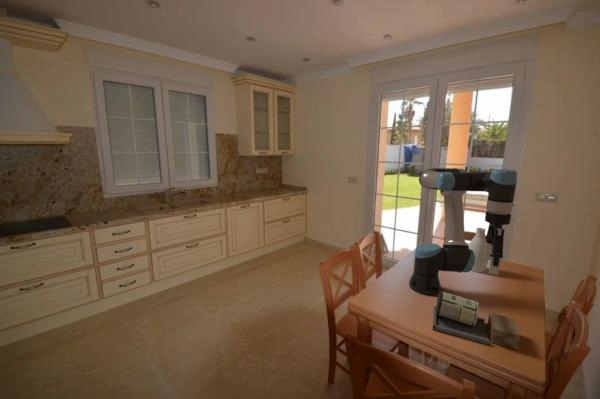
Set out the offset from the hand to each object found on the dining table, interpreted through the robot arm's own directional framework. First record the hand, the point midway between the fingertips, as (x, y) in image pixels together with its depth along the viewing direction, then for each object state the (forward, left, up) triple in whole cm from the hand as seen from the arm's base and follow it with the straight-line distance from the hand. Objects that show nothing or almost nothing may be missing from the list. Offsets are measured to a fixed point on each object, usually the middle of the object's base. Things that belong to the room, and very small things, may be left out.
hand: (490, 266), depth 102 cm
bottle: (+4, +64, -28) cm, 70 cm away
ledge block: (+7, 0, -28) cm, 29 cm away
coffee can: (-2, +2, -23) cm, 23 cm away
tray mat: (-8, 0, -28) cm, 29 cm away
